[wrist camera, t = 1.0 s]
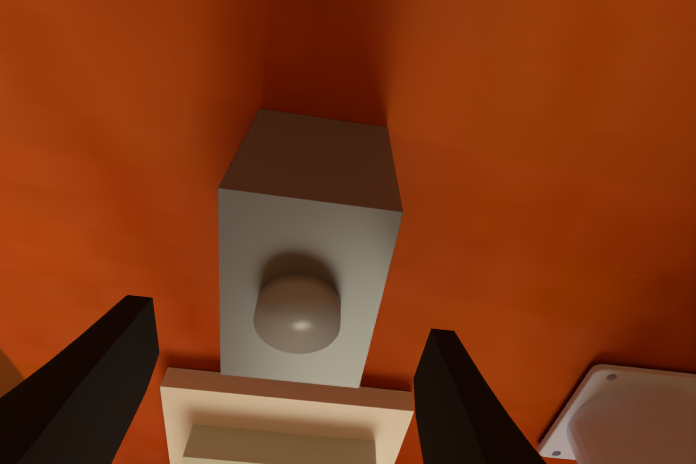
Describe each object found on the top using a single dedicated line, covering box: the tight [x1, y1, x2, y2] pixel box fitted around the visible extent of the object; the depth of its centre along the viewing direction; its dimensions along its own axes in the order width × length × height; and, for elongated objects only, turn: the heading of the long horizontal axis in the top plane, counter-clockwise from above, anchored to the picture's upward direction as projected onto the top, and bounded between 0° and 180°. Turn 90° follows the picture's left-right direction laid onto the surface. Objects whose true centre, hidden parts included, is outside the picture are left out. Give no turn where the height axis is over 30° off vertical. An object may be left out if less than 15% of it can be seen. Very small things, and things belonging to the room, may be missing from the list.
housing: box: [218, 109, 403, 388], centre depth 15 cm, size 5×7×7 cm, turn 172°
